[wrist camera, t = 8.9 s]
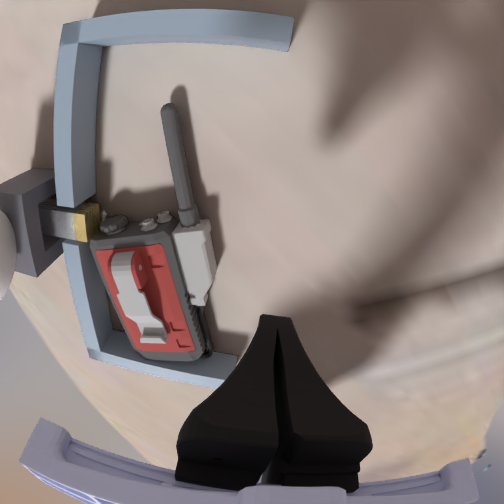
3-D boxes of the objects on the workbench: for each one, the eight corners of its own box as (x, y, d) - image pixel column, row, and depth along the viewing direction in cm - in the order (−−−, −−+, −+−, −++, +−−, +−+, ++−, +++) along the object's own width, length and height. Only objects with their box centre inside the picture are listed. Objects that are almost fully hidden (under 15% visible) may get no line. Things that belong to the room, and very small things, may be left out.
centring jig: (235, 365, 27) (218, 484, 17) (62, 324, 27) (7, 409, 17) (291, 29, 14) (315, -66, 4) (38, 40, 14) (-89, 47, 4)
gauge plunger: (100, 229, 20) (87, 242, 18) (25, 217, 20) (11, 227, 18) (98, 203, 19) (84, 214, 18) (22, 195, 19) (6, 204, 17)
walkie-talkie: (237, 344, 26) (191, 99, 17) (231, 383, 23) (167, 100, 13) (148, 344, 27) (78, 130, 18) (133, 378, 24) (40, 141, 14)
